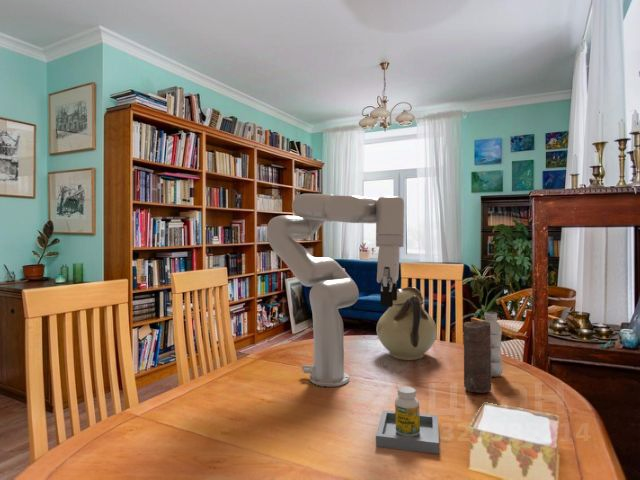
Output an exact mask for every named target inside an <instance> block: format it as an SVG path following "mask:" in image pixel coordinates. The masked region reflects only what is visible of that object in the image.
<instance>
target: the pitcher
mask: <svg viewBox="0 0 640 480" xmlns="http://www.w3.org/2000/svg"><path fill="white" fill-rule="evenodd" d="M424 302H425V301H424V297H423V295H422V293H421V291H420V290H419V289H418V288H416V287H415V286H414V287H413V286H410V287H409V286H408V287H404V288H397V300H396V301H394V300H393V306H392V307H388V308H387V309H386V311H384V313H383V314H382V315H381V316H380V318H379V320H378V321H377V324H376V329H375V330H376V334H377V335H376V336H377V338H378V340H379V342H380V343H381V344H382V345H383V347H384V348H385V349H386V350H387V351H388V352H389V355H390V357H392V358H393V359H396V360H403V361H417V360H420V359H422V358H424V356H425V355H424V354H425V353H427V352H428V351H429V350H430V349H431V348H432V347H433V346H434V344H435V342H436V339H437V335H438V329H437V324H436V322H435V320H434V319H433V317H432V316H431V315H430V314H429V313H428V312H427V311H426V310H425V308H424V306H423V305H424Z"/></svg>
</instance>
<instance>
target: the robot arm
mask: <svg viewBox="0 0 640 480" xmlns="http://www.w3.org/2000/svg"><path fill="white" fill-rule="evenodd" d="M404 201H405V200H404V199H403V197H401V196H397V195H395V196H394V195H391V196H390V195H386V196H380V197H369V196H361V195H339V194H338V195H337V194H336V195H335V194H331V193H302V194H299V195H297V196H296V197H295V198H293V201H292V203H291V208H292V212H293V213H294V215H287V214H286V215H285V214H284V215H278V216H274V217H272V218H270V220H269V222H268V224H267V226H266V236H267V237H266V238H267V241H268V243H269V246H270V247H271V249H272V250H273V252H274V253H275V254H276V255H277V256H278V257H279V258H280V259H281V260H282V261H283V262H284V264H286V267H287V268H288V270H290V271H291V273H292V275H294V276H295V278H296V279H297V280H298V281H299V282H300V283H301V284H302V286H304V287H310V288H311V289H310V290H309V305H310V307H311V312H312V325H313V326H312V331H313V361H314V364H311V365H309V364H302V365H301V366H302V367H301V371H302V372H303V373H305V374H310V375H309V382H310V381H311V382H312V383H311V382H310V383H311V384H313V383H314V384H313V385H315V384H316V385H315V386H318V385H319V387H324V386H326V388H327V387H329V388H333V387H334V388H335V387H339V386H340V387H341V386H343V385H345V384H348V383H349V381H350V374H349V373H347V372H345V350H344V348H345V347H344V346H345V344H344V337H345V335H344V322H343V319H342V318H343V317H342V316H341V314H340V312H339V309H343V308H348V307H351V306H353V305H354V304H356V302H357V301H358V299H359V296H360V295H359V294H360V293H359V288H358V285H357V283H356V282H355V280H353V278H352V277H351V276H350V275H349V273H347V271H346V270H344V268H343V267H342V266H341V265H340V264H339V263H338V261H336V260H335V259H333V258H331V257H327V256H321V257H316V256H313V255H312V254H310V252H309V251H308V250H307V249H306V248H305V247H304V246H303V245H302V244H301V243H299V242H298V241H296V240H307V239H309V238H311V237H312V236H313V235H314V234H315V233H316V232H317V231H318V230H319V229H320V228H321V226H322V225H324V223H325V222H337V223H338V222H340V223H348V224H349V223H350V224H375V225H376V226H375V247H377V248H378V253H377V254H378V255H377V272H376V282H377V283H378V284H380V283H381V285H380V292H379V293H380V294H379V295H380V296H379V297H380V298H379V299H380V301H379V302H380V303H379V304H380V305H379V306H380V307H382V308H383V307H385V308H387V307H388V308H389V307H392V306H393V300H394V301H396V300H397V289H398V286H397V284H398V282H397V281H398V280H399V273H400V272H399V271H400V248H404V242H405V241H404V236H405V234H404V230H405V229H404V228H405V226H404V223H405V222H404V221H405V219H404V218H405V202H404Z"/></svg>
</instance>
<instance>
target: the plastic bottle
mask: <svg viewBox="0 0 640 480" xmlns="http://www.w3.org/2000/svg"><path fill="white" fill-rule="evenodd" d="M484 319H485V320H484V321H486V322H489V323H490V346H491V377H500V376H501V375H503V371H504V367H503V361H502V353H501V342H502V335H503V328H502V327H501V325H500V324H499V322H498V321H497V320H498V313H497V312H494V311H485V312H484Z"/></svg>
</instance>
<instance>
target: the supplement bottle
mask: <svg viewBox="0 0 640 480" xmlns="http://www.w3.org/2000/svg"><path fill="white" fill-rule="evenodd" d="M416 394H417V391H416V388H414V387H411V386H401V387H398V388H397V395H398V396H397V397H396V398H395V400H394V409H395V410H394V411H395V418H396V431H397V433H398V434H400V435H402V436H407V437H414V436H417V435H418V434H419V433H420V416H419V414H420V402H419V399H418V398H416V396H417V395H416Z"/></svg>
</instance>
